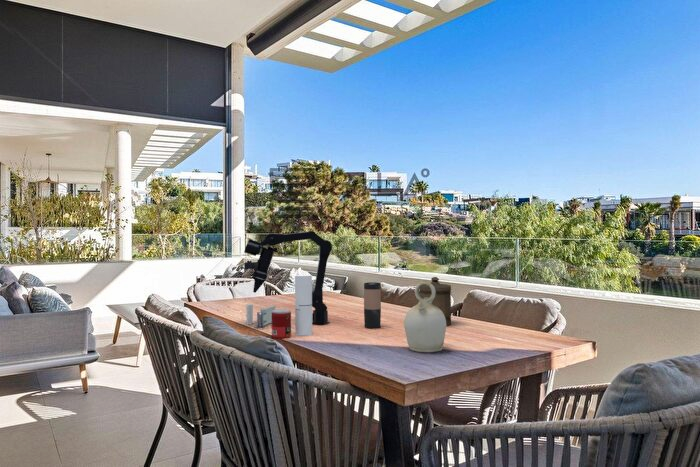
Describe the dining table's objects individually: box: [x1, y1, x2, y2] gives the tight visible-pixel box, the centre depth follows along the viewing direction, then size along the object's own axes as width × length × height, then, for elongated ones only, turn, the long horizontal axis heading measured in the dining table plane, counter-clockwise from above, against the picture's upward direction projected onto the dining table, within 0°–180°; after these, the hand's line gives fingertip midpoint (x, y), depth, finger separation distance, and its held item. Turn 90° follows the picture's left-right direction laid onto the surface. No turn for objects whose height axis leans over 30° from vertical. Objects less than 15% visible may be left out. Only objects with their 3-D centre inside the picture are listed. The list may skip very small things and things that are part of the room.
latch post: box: [245, 303, 254, 325], centre depth 243 cm, size 6×3×9 cm, turn 25°
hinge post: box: [253, 311, 267, 329], centre depth 231 cm, size 4×4×7 cm
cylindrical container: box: [294, 274, 313, 337], centre depth 216 cm, size 7×7×25 cm
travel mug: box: [363, 281, 382, 330], centre depth 230 cm, size 8×8×20 cm
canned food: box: [271, 308, 292, 340], centre depth 211 cm, size 8×8×11 cm
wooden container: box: [419, 276, 452, 327], centre depth 238 cm, size 15×15×22 cm
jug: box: [403, 280, 447, 354], centre depth 188 cm, size 15×16×25 cm
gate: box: [260, 305, 277, 326], centre depth 239 cm, size 12×2×7 cm, turn 161°
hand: (254, 291), depth 236 cm, fingers open, 9 cm apart
